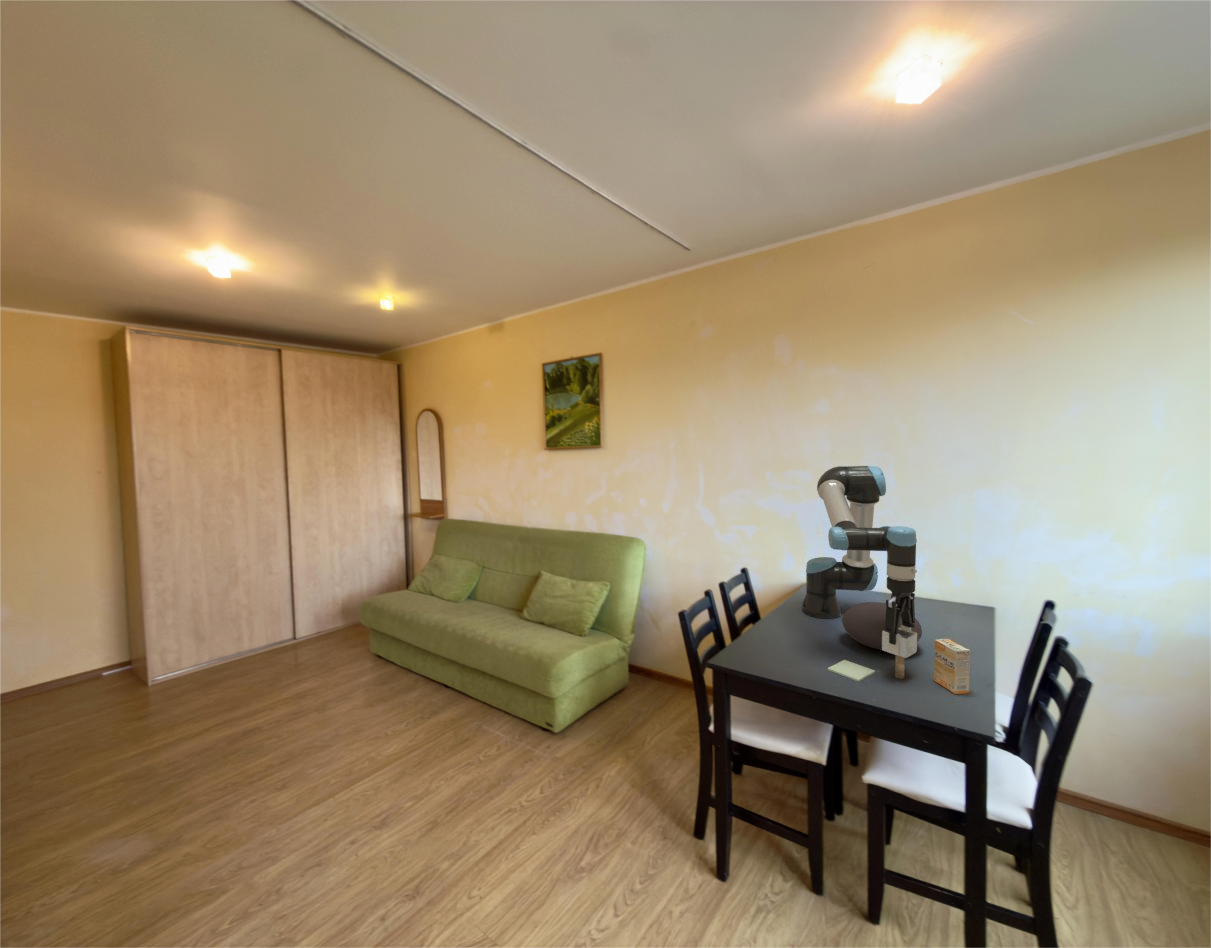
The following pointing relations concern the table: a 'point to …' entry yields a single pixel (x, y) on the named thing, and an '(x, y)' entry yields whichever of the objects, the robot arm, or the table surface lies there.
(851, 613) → the flattened ellipsoid
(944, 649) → the supplement box
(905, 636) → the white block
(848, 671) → the mat
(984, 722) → the table surface
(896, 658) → the dowel
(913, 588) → the robot arm
